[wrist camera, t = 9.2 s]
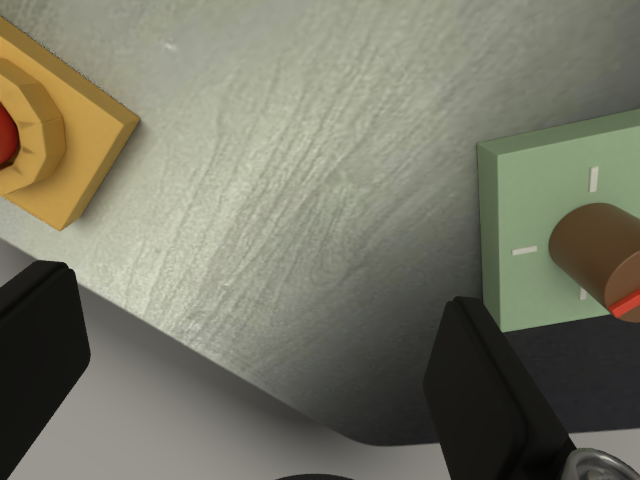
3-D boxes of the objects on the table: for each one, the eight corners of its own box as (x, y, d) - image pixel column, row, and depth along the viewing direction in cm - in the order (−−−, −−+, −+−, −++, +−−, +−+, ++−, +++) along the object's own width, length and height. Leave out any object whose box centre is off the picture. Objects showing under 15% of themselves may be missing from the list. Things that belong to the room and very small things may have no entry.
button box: (141, 118, 23) (108, 131, 19) (80, 217, 25) (40, 246, 22) (-39, -14, 20) (-117, -27, 16) (-86, 114, 22) (-163, 126, 19)
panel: (627, 280, 28) (663, 307, 25) (483, 306, 29) (501, 334, 26) (653, 105, 23) (702, 113, 20) (476, 142, 23) (498, 156, 21)
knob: (606, 186, 21) (689, 226, 17) (640, 239, 23) (725, 289, 18) (534, 236, 23) (592, 286, 18) (570, 283, 24) (633, 341, 19)
